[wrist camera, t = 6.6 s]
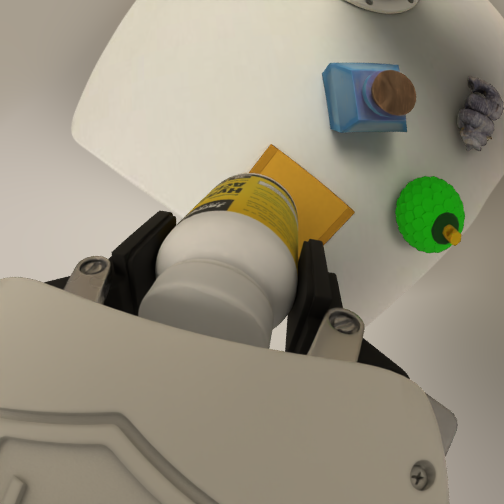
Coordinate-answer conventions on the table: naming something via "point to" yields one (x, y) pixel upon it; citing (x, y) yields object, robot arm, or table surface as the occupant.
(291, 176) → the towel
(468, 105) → the seashell
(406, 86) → the perfume bottle
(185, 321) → the supplement bottle
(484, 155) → the table surface
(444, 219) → the ornament
